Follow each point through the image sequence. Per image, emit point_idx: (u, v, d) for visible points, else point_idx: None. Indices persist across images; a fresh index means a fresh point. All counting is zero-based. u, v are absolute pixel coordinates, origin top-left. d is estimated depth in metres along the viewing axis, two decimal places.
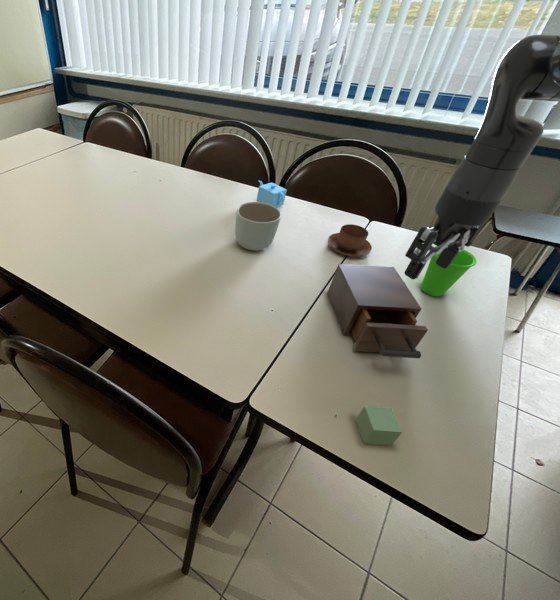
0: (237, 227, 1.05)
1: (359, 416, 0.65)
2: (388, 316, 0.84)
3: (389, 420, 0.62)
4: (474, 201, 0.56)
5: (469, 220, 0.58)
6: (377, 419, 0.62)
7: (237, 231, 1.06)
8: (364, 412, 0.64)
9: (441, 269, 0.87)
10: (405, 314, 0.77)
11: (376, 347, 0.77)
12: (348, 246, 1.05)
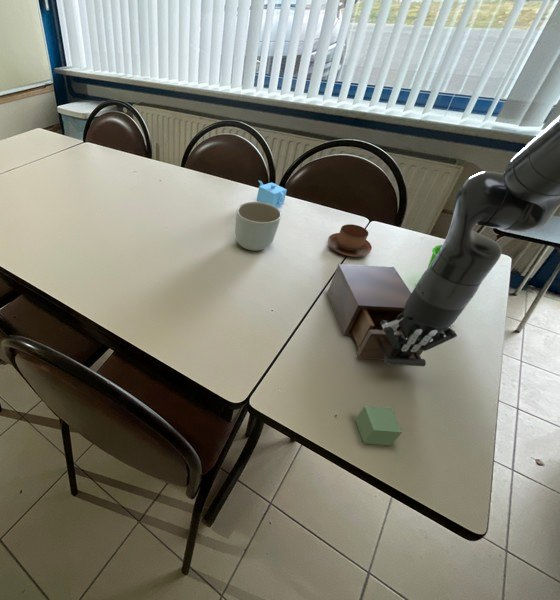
0: (237, 227, 1.05)
1: (359, 416, 0.65)
2: None
3: (389, 420, 0.62)
4: (427, 303, 0.60)
5: (423, 318, 0.61)
6: (377, 419, 0.62)
7: (237, 231, 1.06)
8: (364, 412, 0.64)
9: None
10: None
11: (379, 354, 0.75)
12: (348, 246, 1.05)
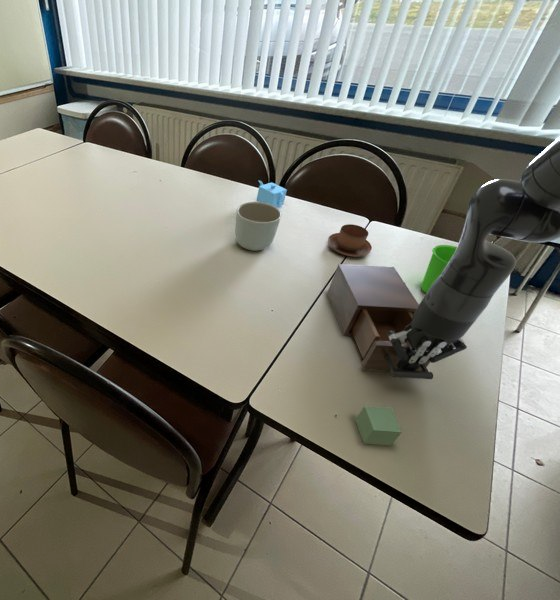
0: (237, 227, 1.05)
1: (359, 416, 0.65)
2: (397, 332, 0.80)
3: (389, 420, 0.62)
4: (436, 314, 0.57)
5: (432, 330, 0.59)
6: (377, 419, 0.62)
7: (237, 231, 1.06)
8: (364, 412, 0.64)
9: (441, 269, 0.87)
10: None
11: (385, 366, 0.73)
12: (348, 246, 1.05)
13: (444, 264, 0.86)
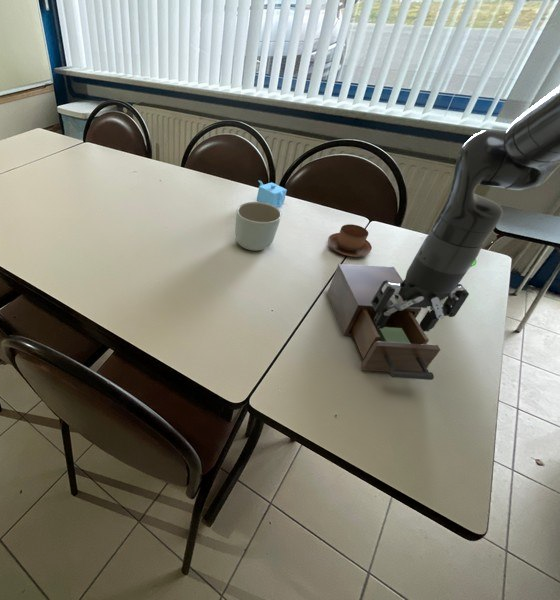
0: (237, 227, 1.05)
1: None
2: None
3: (400, 336, 0.73)
4: (428, 268, 0.60)
5: (424, 284, 0.61)
6: (389, 335, 0.73)
7: (237, 231, 1.06)
8: (378, 332, 0.75)
9: None
10: (415, 331, 0.74)
11: (385, 366, 0.73)
12: (348, 246, 1.05)
13: None
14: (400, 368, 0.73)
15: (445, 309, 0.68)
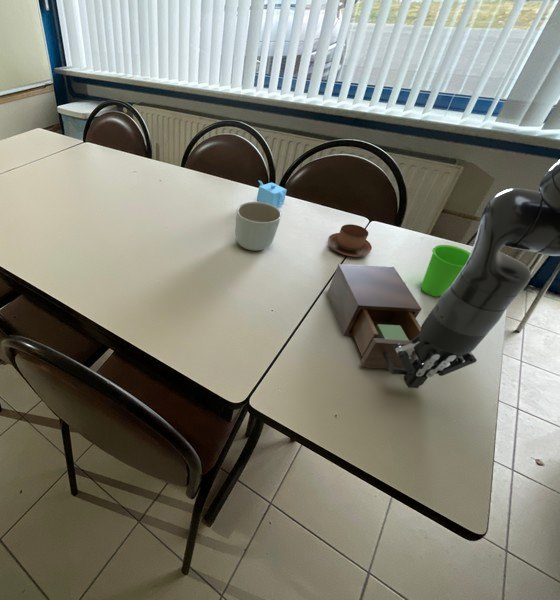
0: (237, 227, 1.05)
1: None
2: None
3: (399, 333, 0.74)
4: (446, 327, 0.55)
5: (442, 344, 0.57)
6: (388, 333, 0.74)
7: (237, 231, 1.06)
8: (377, 329, 0.76)
9: (441, 269, 0.87)
10: (414, 328, 0.74)
11: (384, 363, 0.73)
12: (348, 246, 1.05)
13: (444, 264, 0.86)
14: (398, 365, 0.73)
15: None
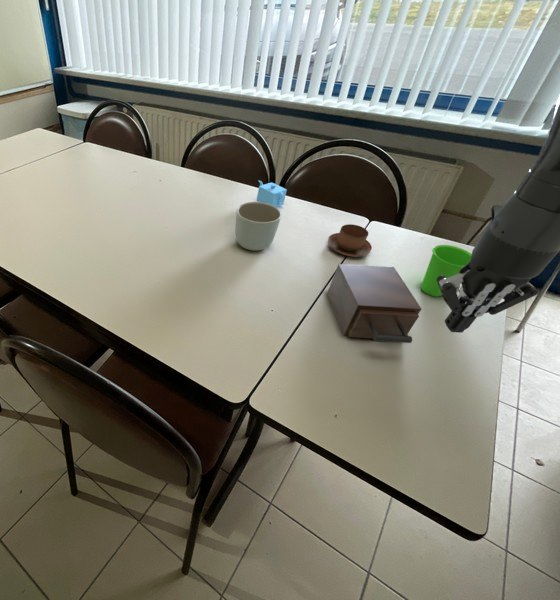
0: (237, 227, 1.05)
1: None
2: None
3: None
4: (508, 244, 0.45)
5: (501, 267, 0.47)
6: None
7: (237, 231, 1.06)
8: None
9: (441, 269, 0.87)
10: None
11: (369, 333, 0.80)
12: (348, 246, 1.05)
13: (444, 264, 0.86)
14: (383, 335, 0.80)
15: None
